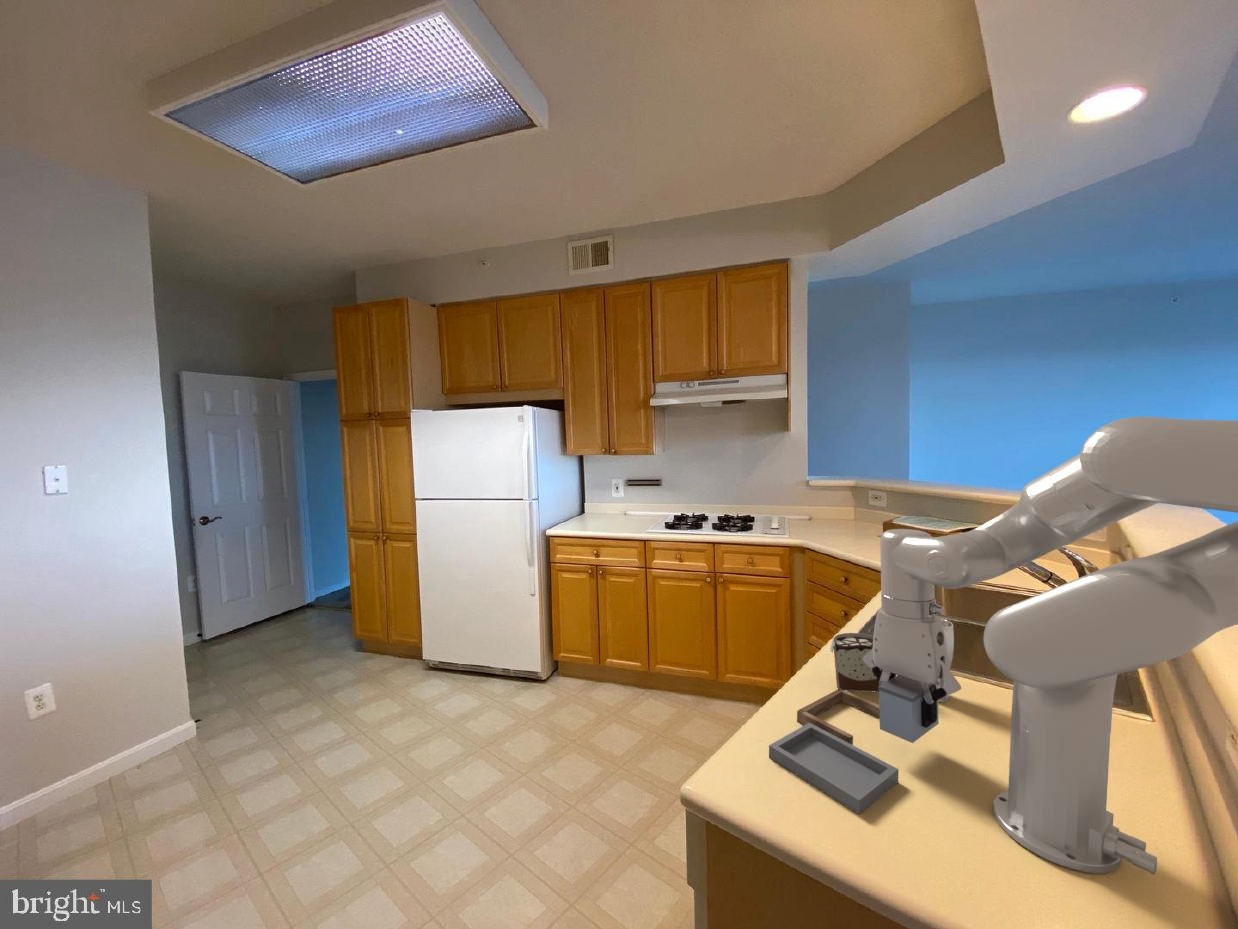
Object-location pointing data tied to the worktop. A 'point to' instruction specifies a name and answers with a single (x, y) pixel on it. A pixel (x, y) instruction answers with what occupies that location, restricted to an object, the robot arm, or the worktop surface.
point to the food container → (853, 662)
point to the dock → (830, 700)
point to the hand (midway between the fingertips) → (909, 716)
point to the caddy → (902, 708)
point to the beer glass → (950, 649)
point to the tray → (834, 766)
